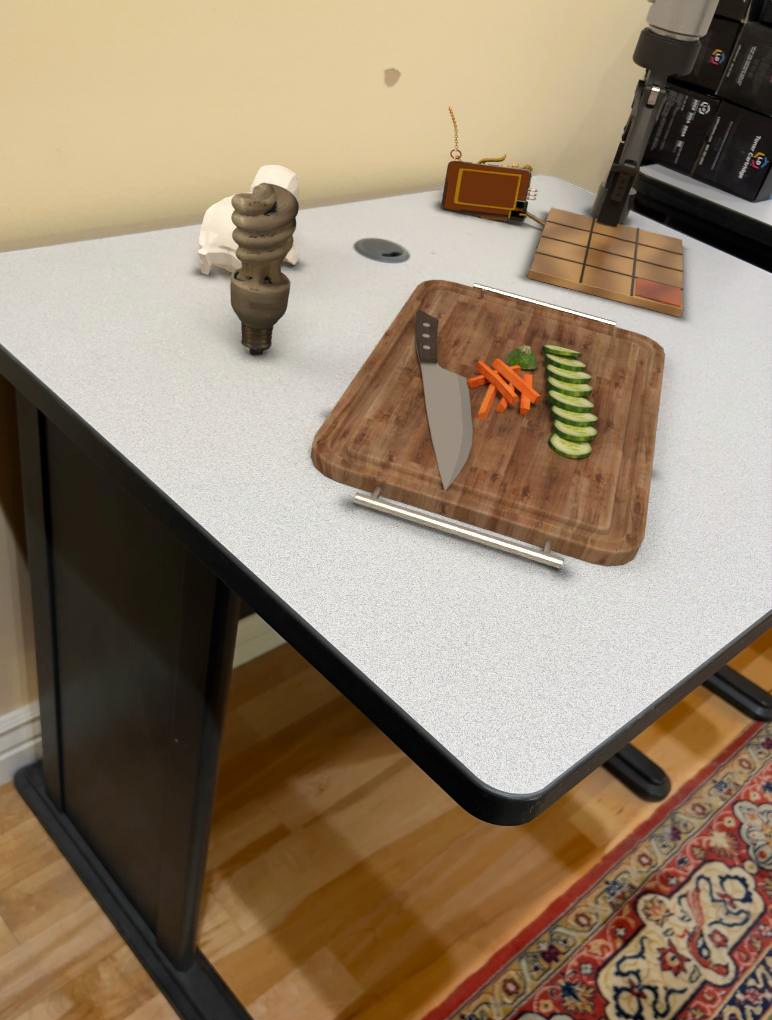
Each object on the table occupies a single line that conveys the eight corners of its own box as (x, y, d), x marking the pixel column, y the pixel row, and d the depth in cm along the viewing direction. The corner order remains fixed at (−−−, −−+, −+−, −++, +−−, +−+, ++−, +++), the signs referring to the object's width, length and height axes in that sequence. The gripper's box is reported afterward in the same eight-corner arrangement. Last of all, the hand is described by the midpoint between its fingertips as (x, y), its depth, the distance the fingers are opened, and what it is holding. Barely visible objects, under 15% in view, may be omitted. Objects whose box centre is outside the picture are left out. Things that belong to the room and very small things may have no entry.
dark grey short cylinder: (626, 215, 126) (637, 186, 123) (625, 227, 122) (636, 197, 120) (591, 207, 126) (601, 178, 124) (589, 218, 123) (599, 188, 120)
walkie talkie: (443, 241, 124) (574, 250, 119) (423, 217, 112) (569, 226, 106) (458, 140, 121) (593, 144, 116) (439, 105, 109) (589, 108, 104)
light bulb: (234, 369, 80) (247, 197, 69) (213, 340, 83) (222, 172, 73) (291, 363, 82) (312, 196, 72) (268, 335, 85) (285, 171, 75)
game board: (679, 246, 120) (682, 238, 119) (679, 317, 102) (684, 307, 101) (548, 214, 122) (551, 205, 121) (527, 278, 104) (530, 268, 104)
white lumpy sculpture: (265, 315, 95) (321, 224, 101) (259, 252, 87) (320, 157, 93) (193, 292, 96) (254, 204, 102) (182, 228, 89) (247, 137, 95)
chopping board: (632, 597, 64) (648, 565, 62) (287, 486, 68) (291, 452, 66) (662, 343, 96) (674, 317, 94) (427, 278, 100) (433, 251, 98)
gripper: (645, 10, 119) (589, 175, 133) (640, 43, 101) (575, 230, 115) (701, 23, 118) (638, 188, 132) (706, 58, 100) (632, 244, 114)
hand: (609, 208), depth 124 cm, fingers open, 13 cm apart
